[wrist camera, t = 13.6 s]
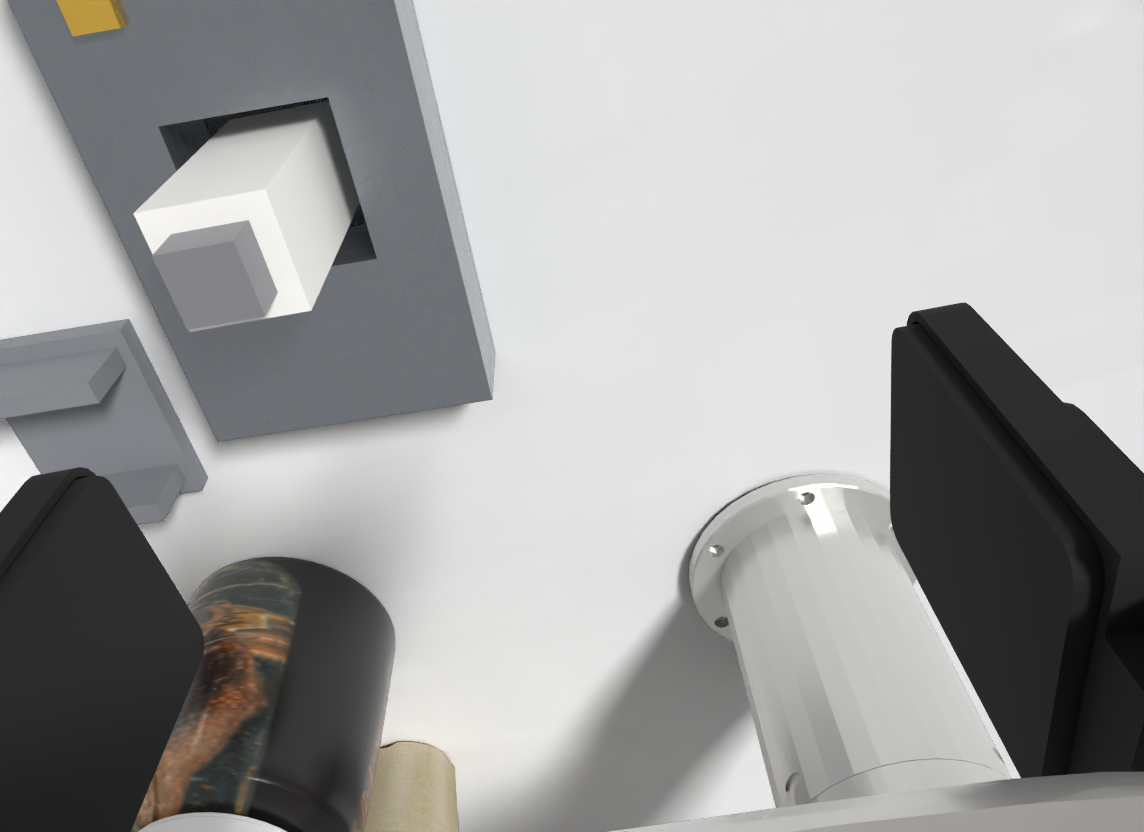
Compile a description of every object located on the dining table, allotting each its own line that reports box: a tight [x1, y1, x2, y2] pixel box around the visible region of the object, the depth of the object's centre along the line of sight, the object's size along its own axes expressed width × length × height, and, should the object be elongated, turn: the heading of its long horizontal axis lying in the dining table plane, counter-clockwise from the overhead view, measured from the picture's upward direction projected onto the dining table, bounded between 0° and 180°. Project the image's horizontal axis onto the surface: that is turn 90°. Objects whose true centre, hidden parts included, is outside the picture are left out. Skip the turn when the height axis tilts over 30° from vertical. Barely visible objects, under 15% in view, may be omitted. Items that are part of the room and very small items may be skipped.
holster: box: [0, 319, 208, 525], centre depth 39 cm, size 9×7×4 cm
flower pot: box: [364, 742, 459, 832], centre depth 54 cm, size 9×9×9 cm
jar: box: [131, 557, 395, 832], centre depth 43 cm, size 12×12×15 cm
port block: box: [7, 0, 495, 442], centre depth 33 cm, size 20×12×4 cm, turn 9°
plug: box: [133, 101, 360, 332], centre depth 30 cm, size 4×4×12 cm
